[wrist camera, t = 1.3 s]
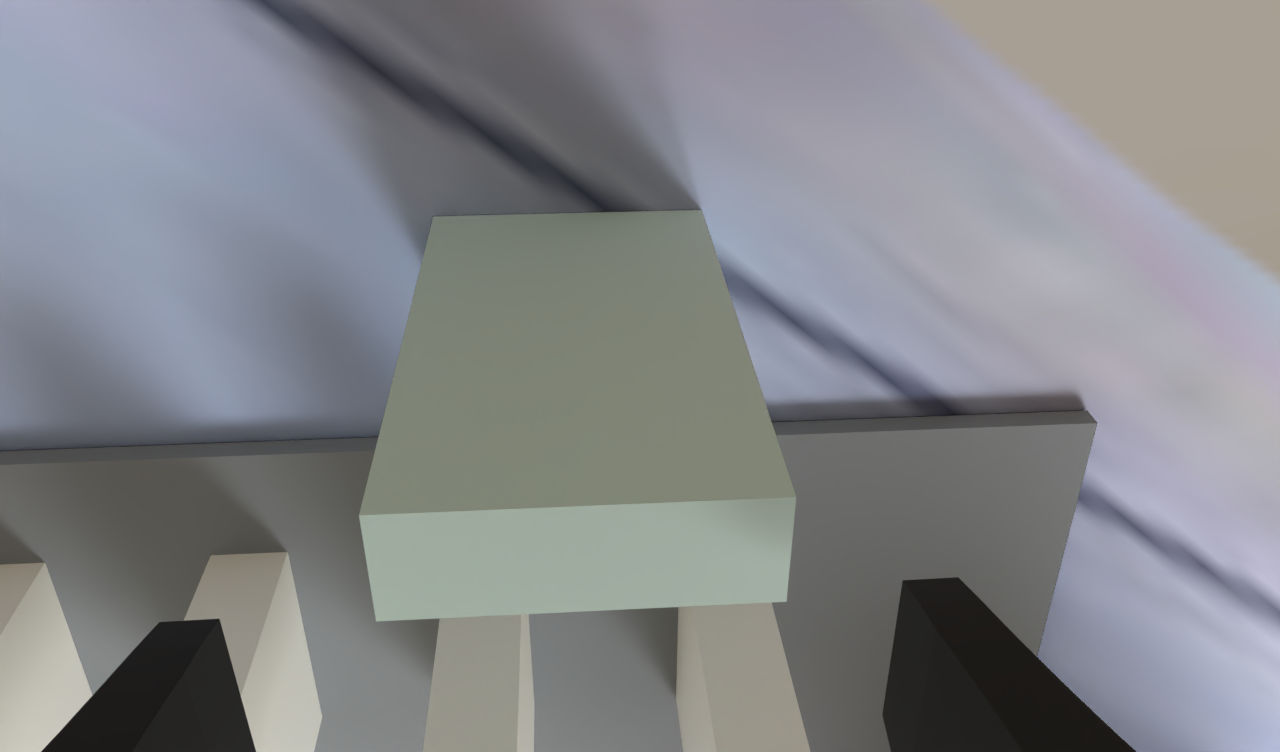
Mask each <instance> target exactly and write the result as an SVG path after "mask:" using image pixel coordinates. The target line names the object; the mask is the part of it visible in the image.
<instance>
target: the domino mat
mask: <svg viewBox="0 0 1280 752" xmlns="http://www.w3.org/2000/svg"><path fill="white" fill-rule="evenodd" d="M772 425H773V428H774V431H775V434H776V437H777V440H778V443H779V446H780V449H781V452H782V455H783V458H784V461H785V464H786V467H787V470H788V473H789V476H790V479H791V482H792V485H793V489H794V492H795V495H796V506H795V517H794V527H793V538H792V549H791V559H790V570H789V580H788V591H787V602H772V606H773V610H774V613H775V617H776V621H777V625H778V629H779V633H780V636H781V640H782V644H783V648H784V652H785V656H786V660H787V663H788V667H789V671H790V675H791V679H792V683H793V687H794V690H795V694H796V698H797V702H798V706H799V710H800V713H801V717H802V721H803V725H804V729H805V733H806V737H807V740H808V744H809V748H810V752H891V750H890V745H889V741H888V737H887V733H886V728H885V724H884V720H883V716H882V713H883V707H884V700H885V693H886V687H887V680H888V674H889V667H890V660H891V654H892V647H893V641H894V634H895V627H896V621H897V614H898V607H899V601H900V594H901V588H902V581H903V580H918V579H936V578H953V577H959V578H960V579H961V580H962V581H963V582H964V583H965V584H966V585H967V586H968V587H969V588H970V589H971V590H972V591H973V592H974V593H975V594H976V595H977V596H978V597H979V598H980V599H981V600H982V601H983V602H984V603H985V604H986V605H987V607H988V608H989V609H990V610H991V611H992V612H993V613H994V614H995V615H996V616H997V617H998V618H999V619H1000V620H1001V621H1002V622H1003V623H1004V624H1005V625H1006V626H1007V627H1008V628H1009V629H1010V630H1011V631H1012V632H1013V633H1014V634H1015V635H1016V636H1017V637H1018V638H1019V639H1020V640H1021V641H1022V642H1023V643H1024V644H1025V645H1026V646H1027V647H1028V648H1029V649H1030V650H1031V651H1032V652H1033V653H1034V654H1035V655H1036V656H1037V654H1038V651H1039V647H1040V643H1041V639H1042V635H1043V631H1044V627H1045V624H1046V620H1047V616H1048V612H1049V608H1050V604H1051V600H1052V596H1053V593H1054V589H1055V585H1056V581H1057V577H1058V573H1059V569H1060V566H1061V562H1062V558H1063V554H1064V550H1065V546H1066V542H1067V538H1068V535H1069V531H1070V527H1071V523H1072V519H1073V515H1074V511H1075V508H1076V504H1077V500H1078V496H1079V492H1080V488H1081V484H1082V480H1083V477H1084V473H1085V469H1086V465H1087V461H1088V457H1089V453H1090V450H1091V446H1092V442H1093V438H1094V434H1095V430H1096V426H1097V422H1096V421H1095V420H1094V418H1093V417H1092V416H1091V415H1090V413H1089V412H1088V411H1062V412H1035V413H1008V414H982V415H955V416H928V417H902V418H875V419H848V420H822V421H795V422H772ZM377 441H378V437H368V438H341V439H315V440H288V441H261V442H235V443H208V444H181V445H155V446H128V447H101V448H75V449H48V450H21V451H0V565H2V564H24V563H45V564H46V566H47V569H48V572H49V575H50V578H51V580H52V583H53V586H54V589H55V592H56V594H57V597H58V600H59V603H60V606H61V608H62V611H63V614H64V617H65V620H66V622H67V625H68V628H69V631H70V634H71V636H72V639H73V642H74V645H75V648H76V650H77V653H78V656H79V659H80V662H81V664H82V667H83V670H84V673H85V676H86V678H87V681H88V684H89V687H90V690H91V692H92V695H93V694H94V693H95V692H96V691H97V690H98V689H99V688H100V686H101V685H102V684H103V683H104V682H105V681H106V680H107V679H108V678H109V676H110V675H111V674H112V673H113V672H114V671H115V670H116V669H117V668H118V666H119V665H120V664H121V663H122V662H123V661H124V660H125V659H126V657H127V656H128V655H129V654H130V653H131V652H132V651H133V650H134V649H135V648H136V646H137V645H138V644H139V643H140V642H141V641H142V640H143V639H144V638H145V637H146V636H147V635H148V634H149V632H150V631H151V630H152V629H153V628H154V627H155V626H156V625H157V624H158V623H159V622H168V621H184V618H185V616H186V614H187V611H188V609H189V606H190V604H191V602H192V599H193V597H194V594H195V592H196V590H197V587H198V585H199V582H200V580H201V578H202V575H203V573H204V571H205V568H206V566H207V563H208V561H209V559H210V556H211V555H229V554H252V553H274V552H288V555H289V560H290V565H291V570H292V575H293V579H294V584H295V589H296V594H297V599H298V603H299V608H300V613H301V618H302V623H303V627H304V632H305V637H306V642H307V647H308V651H309V656H310V661H311V666H312V670H313V675H314V680H315V685H316V690H317V694H318V699H319V704H320V709H321V714H322V720H321V724H320V729H319V733H318V737H317V741H316V746H315V750H314V752H423V747H424V739H425V731H426V723H427V715H428V707H429V699H430V691H431V683H432V675H433V667H434V660H435V652H436V644H437V636H438V628H439V620H440V618H438V619H417V620H396V621H376V618H375V612H374V605H373V599H372V593H371V587H370V581H369V575H368V568H367V562H366V556H365V550H364V544H363V537H362V531H361V525H360V519H359V513H360V509H361V505H362V501H363V497H364V493H365V489H366V485H367V481H368V477H369V473H370V469H371V465H372V461H373V457H374V453H375V449H376V445H377ZM529 629H530V644H531V659H532V675H533V690H534V705H535V709H534V752H683V747H682V740H681V732H680V725H679V717H678V710H677V702H676V678H677V642H678V607H667V608H646V609H625V610H604V611H583V612H563V613H542V614H529Z"/></svg>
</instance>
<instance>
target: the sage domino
mask: <svg viewBox="0 0 1280 752" xmlns="http://www.w3.org/2000/svg"><path fill="white" fill-rule="evenodd" d="M795 506H796V495H795V492H794V489H793V485H792V482H791V479H790V476H789V473H788V470H787V467H786V464H785V461H784V458H783V455H782V452H781V449H780V446H779V443H778V440H777V437H776V434H775V431H774V428H773V425H772V422H771V419H770V416H769V413H768V410H767V406H766V403H765V400H764V397H763V394H762V391H761V388H760V385H759V382H758V379H757V376H756V373H755V370H754V367H753V364H752V361H751V358H750V355H749V352H748V349H747V346H746V343H745V340H744V337H743V334H742V331H741V327H740V324H739V321H738V318H737V315H736V312H735V309H734V306H733V303H732V300H731V297H730V294H729V291H728V288H727V285H726V282H725V279H724V276H723V273H722V270H721V267H720V264H719V261H718V258H717V255H716V251H715V248H714V245H713V242H712V239H711V236H710V233H709V230H708V227H707V224H706V221H705V218H704V215H703V212H702V210H674V211H634V212H593V213H552V214H511V215H470V216H433V219H432V223H431V228H430V232H429V236H428V240H427V244H426V248H425V252H424V256H423V260H422V264H421V268H420V272H419V276H418V280H417V284H416V288H415V292H414V296H413V300H412V304H411V308H410V312H409V316H408V320H407V324H406V328H405V332H404V336H403V340H402V344H401V348H400V352H399V356H398V360H397V364H396V368H395V372H394V376H393V380H392V384H391V388H390V392H389V396H388V401H387V405H386V409H385V413H384V417H383V421H382V425H381V429H380V433H379V437H378V441H377V445H376V449H375V453H374V457H373V461H372V465H371V469H370V473H369V477H368V481H367V485H366V489H365V493H364V497H363V501H362V505H361V509H360V513H359V519H360V525H361V531H362V537H363V544H364V550H365V556H366V562H367V568H368V575H369V581H370V587H371V593H372V599H373V605H374V612H375V618H376V621H396V620H417V619H438V618H459V617H479V616H500V615H521V614H542V613H563V612H583V611H604V610H625V609H646V608H667V607H687V606H708V605H729V604H750V603H770V602H787V591H788V580H789V570H790V559H791V549H792V538H793V527H794V517H795Z"/></svg>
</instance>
